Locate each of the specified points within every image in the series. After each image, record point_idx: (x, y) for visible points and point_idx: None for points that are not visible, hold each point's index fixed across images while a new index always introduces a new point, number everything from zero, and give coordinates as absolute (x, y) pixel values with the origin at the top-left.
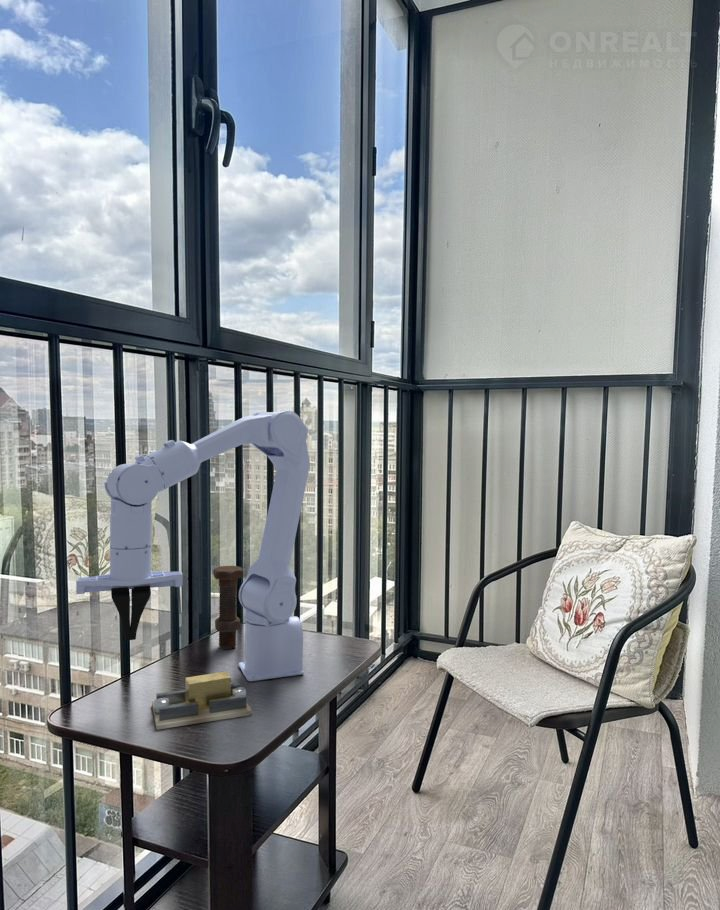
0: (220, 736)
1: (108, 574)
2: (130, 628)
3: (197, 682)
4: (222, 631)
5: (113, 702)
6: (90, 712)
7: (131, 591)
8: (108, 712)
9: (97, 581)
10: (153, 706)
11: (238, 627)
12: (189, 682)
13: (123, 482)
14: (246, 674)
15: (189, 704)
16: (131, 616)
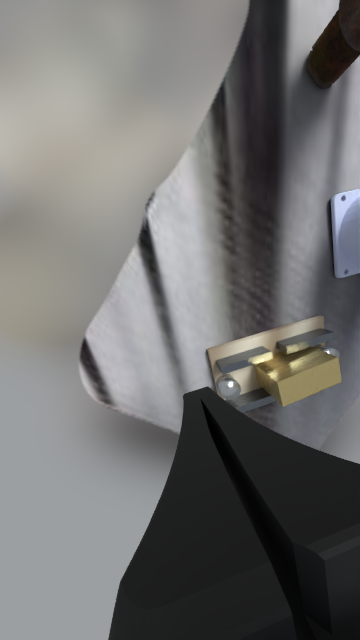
0: (287, 425)
1: None
2: (205, 414)
3: (294, 400)
4: (352, 46)
5: (148, 333)
6: (125, 365)
7: (283, 539)
8: (151, 366)
9: None
10: (212, 366)
11: None
12: (283, 401)
13: None
14: (338, 257)
15: (267, 402)
16: (220, 435)
